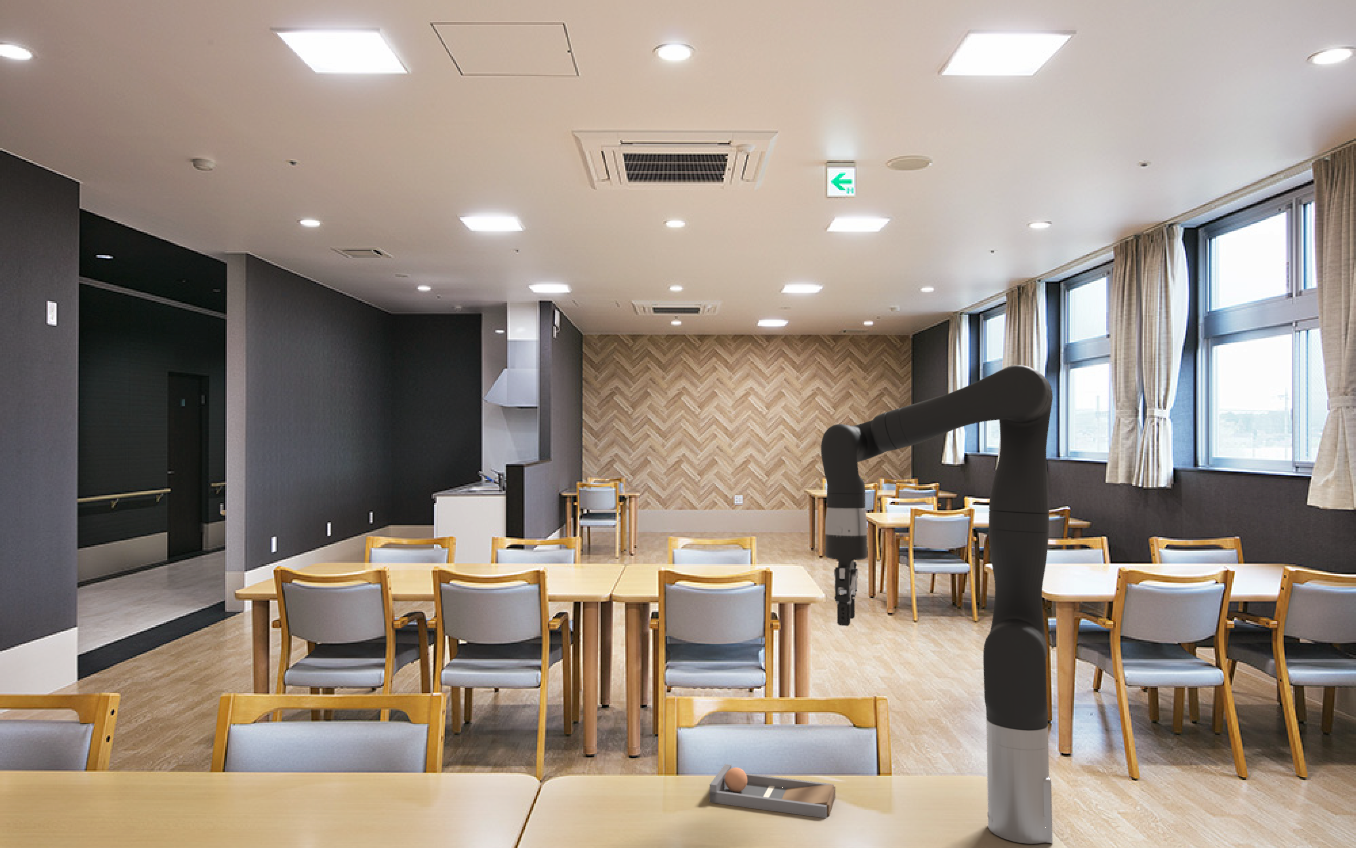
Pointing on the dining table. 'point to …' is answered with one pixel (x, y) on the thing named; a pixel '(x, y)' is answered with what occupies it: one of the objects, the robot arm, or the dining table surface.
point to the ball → (736, 779)
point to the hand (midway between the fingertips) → (846, 621)
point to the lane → (765, 794)
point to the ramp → (812, 795)
